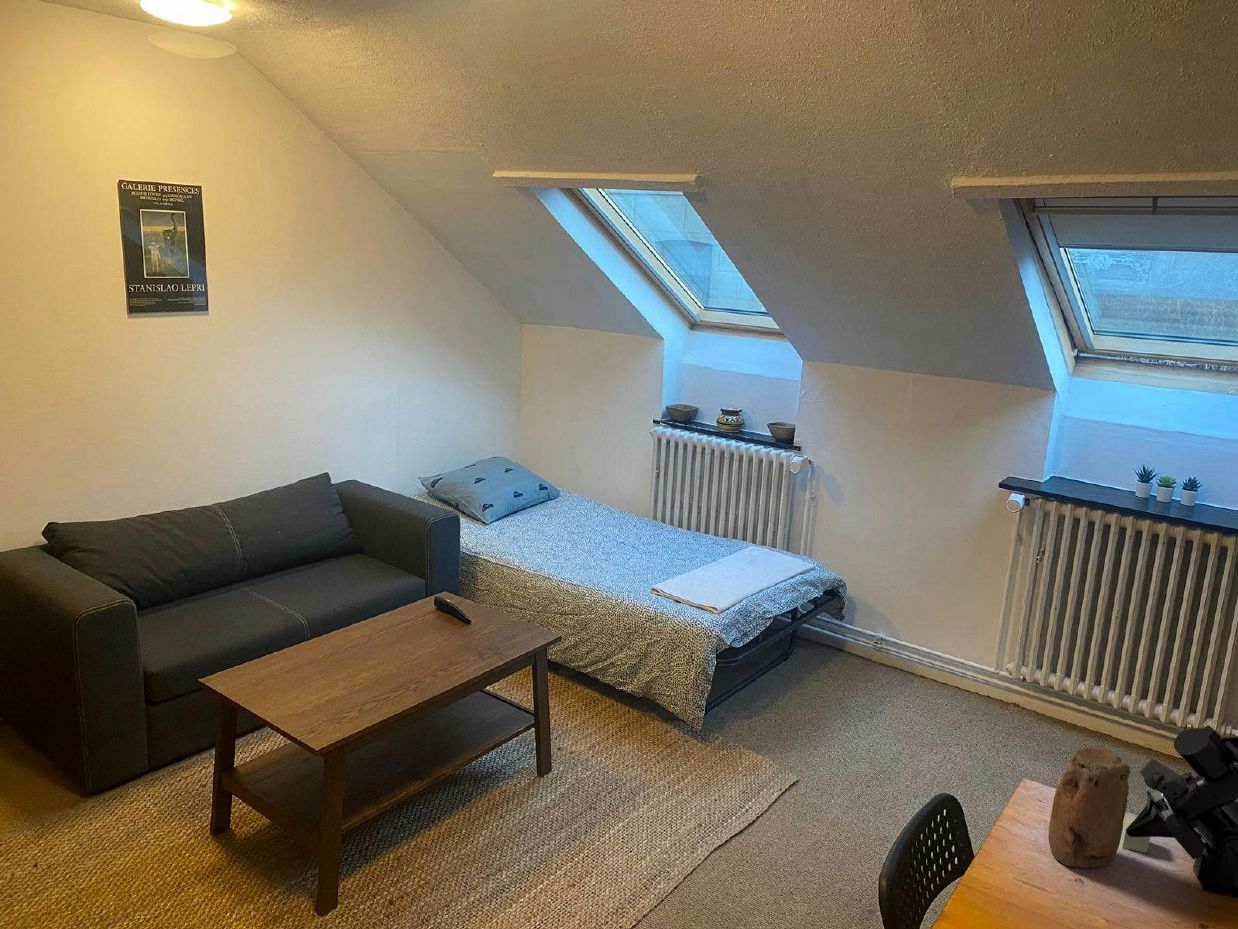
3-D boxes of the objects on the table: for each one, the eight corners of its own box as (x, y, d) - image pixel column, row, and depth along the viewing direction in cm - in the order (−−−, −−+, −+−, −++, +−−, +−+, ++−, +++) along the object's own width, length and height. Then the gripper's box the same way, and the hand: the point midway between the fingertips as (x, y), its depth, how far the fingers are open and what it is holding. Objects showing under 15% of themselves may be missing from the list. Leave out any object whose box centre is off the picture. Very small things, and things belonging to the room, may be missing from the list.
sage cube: (1141, 839, 169) (1145, 820, 168) (1146, 853, 165) (1150, 834, 164) (1117, 835, 170) (1121, 816, 169) (1122, 848, 166) (1126, 829, 165)
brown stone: (1090, 840, 168) (1108, 742, 163) (1120, 867, 161) (1140, 766, 156) (1038, 847, 166) (1055, 748, 161) (1067, 875, 159) (1085, 772, 154)
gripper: (1164, 726, 163) (1086, 769, 168) (1197, 784, 145) (1108, 830, 151) (1205, 773, 163) (1126, 815, 168) (1243, 837, 145) (1153, 882, 151)
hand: (1127, 833), depth 160 cm, fingers closed
